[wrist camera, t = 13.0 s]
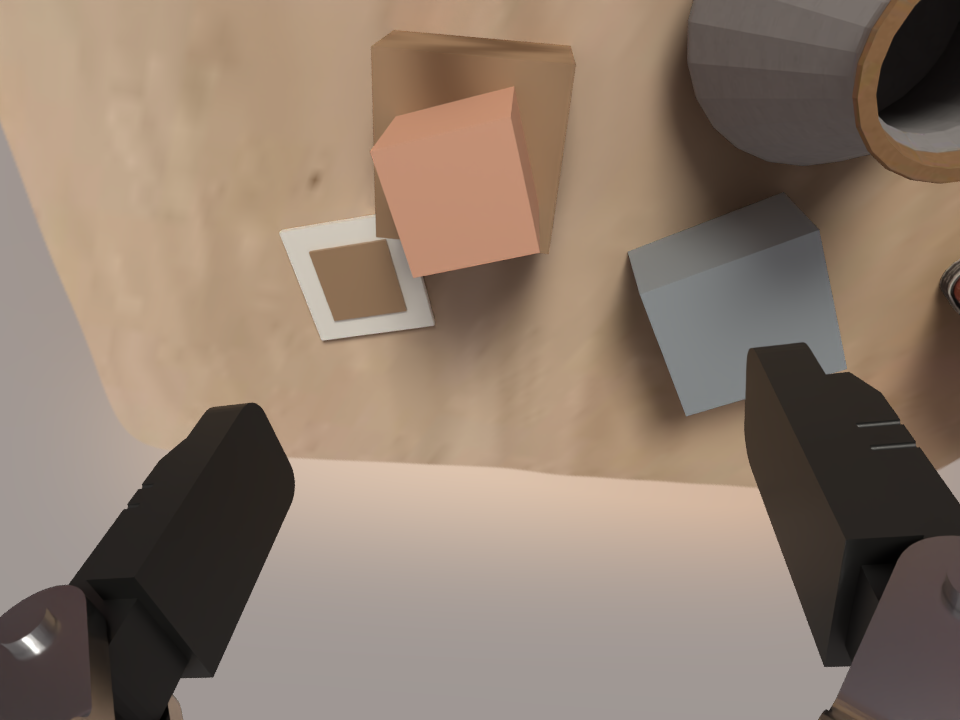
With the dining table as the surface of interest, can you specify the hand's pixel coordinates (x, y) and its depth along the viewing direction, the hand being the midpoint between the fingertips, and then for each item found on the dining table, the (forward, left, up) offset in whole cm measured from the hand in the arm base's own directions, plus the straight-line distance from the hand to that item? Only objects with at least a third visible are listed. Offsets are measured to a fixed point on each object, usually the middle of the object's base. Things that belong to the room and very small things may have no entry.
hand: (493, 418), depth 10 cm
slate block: (-9, +11, -24) cm, 28 cm away
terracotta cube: (+2, +1, -19) cm, 19 cm away
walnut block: (+2, +1, -24) cm, 24 cm away
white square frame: (+10, +8, -24) cm, 27 cm away
